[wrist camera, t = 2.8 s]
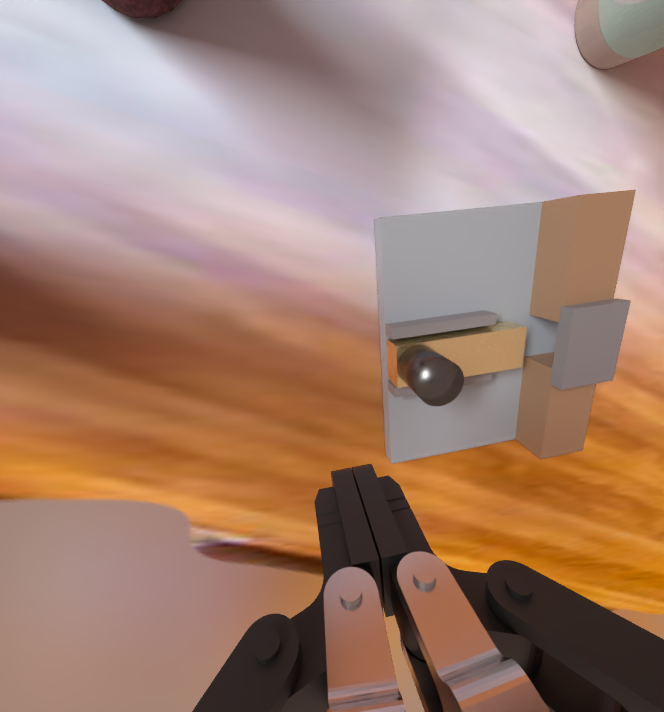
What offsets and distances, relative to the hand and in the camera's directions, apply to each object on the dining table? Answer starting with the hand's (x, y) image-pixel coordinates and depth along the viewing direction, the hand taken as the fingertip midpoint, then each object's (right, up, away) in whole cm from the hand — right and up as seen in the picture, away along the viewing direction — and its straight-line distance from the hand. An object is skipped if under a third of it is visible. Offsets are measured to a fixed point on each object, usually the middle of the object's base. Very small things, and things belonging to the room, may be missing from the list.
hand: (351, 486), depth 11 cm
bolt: (+8, +5, +13) cm, 17 cm away
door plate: (+11, +6, +15) cm, 20 cm away
